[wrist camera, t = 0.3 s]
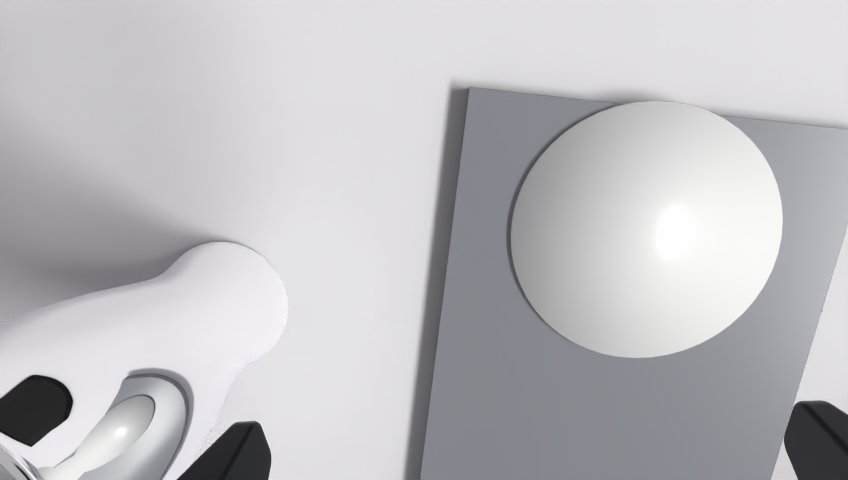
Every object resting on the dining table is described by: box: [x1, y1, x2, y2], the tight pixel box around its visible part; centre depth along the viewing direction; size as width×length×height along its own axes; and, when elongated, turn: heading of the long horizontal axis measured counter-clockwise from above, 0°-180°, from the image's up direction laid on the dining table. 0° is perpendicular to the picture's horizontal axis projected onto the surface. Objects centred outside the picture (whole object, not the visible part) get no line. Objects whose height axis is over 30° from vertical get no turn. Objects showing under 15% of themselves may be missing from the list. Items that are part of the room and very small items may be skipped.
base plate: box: [420, 87, 848, 480], centre depth 25 cm, size 24×16×1 cm, turn 174°
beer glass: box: [0, 242, 289, 480], centre depth 19 cm, size 7×7×15 cm
